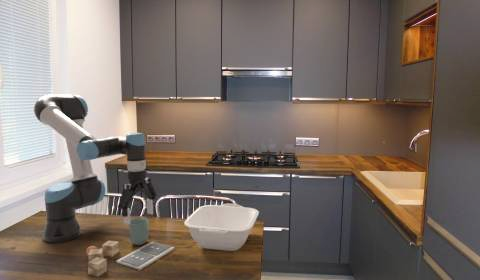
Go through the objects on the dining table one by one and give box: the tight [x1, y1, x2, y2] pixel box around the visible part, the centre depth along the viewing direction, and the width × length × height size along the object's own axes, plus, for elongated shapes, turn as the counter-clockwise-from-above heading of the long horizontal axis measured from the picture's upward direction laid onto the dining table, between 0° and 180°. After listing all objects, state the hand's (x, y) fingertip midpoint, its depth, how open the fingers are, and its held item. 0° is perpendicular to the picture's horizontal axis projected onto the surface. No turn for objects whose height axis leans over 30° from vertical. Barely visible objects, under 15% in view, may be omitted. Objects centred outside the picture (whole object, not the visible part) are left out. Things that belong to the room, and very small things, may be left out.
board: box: [116, 241, 175, 271], centre depth 143 cm, size 12×20×1 cm, turn 152°
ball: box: [86, 245, 98, 256], centre depth 142 cm, size 4×4×4 cm
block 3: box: [101, 240, 120, 258], centre depth 144 cm, size 4×4×4 cm
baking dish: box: [183, 203, 260, 252], centre depth 154 cm, size 34×28×13 cm
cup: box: [128, 217, 149, 246], centre depth 154 cm, size 8×8×10 cm
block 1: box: [87, 248, 104, 262], centre depth 137 cm, size 4×4×4 cm
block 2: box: [87, 257, 108, 277], centre depth 129 cm, size 4×4×4 cm
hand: (139, 218), depth 153 cm, fingers open, 13 cm apart
